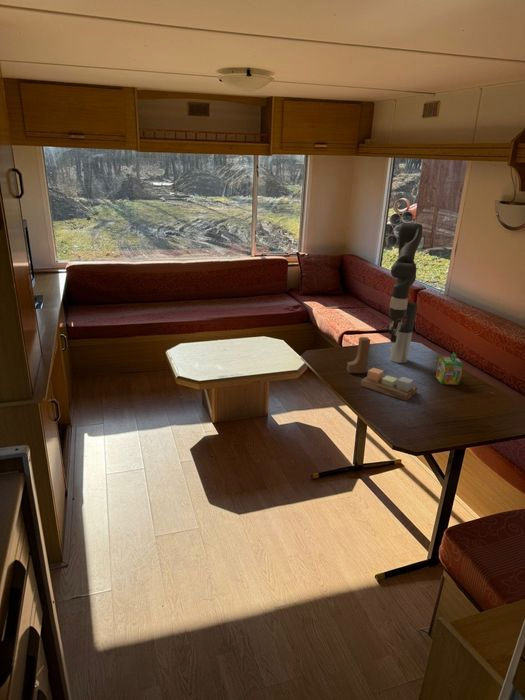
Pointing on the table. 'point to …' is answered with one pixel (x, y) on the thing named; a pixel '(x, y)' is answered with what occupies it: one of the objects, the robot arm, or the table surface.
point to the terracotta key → (375, 375)
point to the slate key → (404, 384)
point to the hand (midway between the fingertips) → (393, 342)
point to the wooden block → (360, 357)
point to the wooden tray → (388, 389)
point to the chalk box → (449, 370)
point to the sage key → (389, 381)
